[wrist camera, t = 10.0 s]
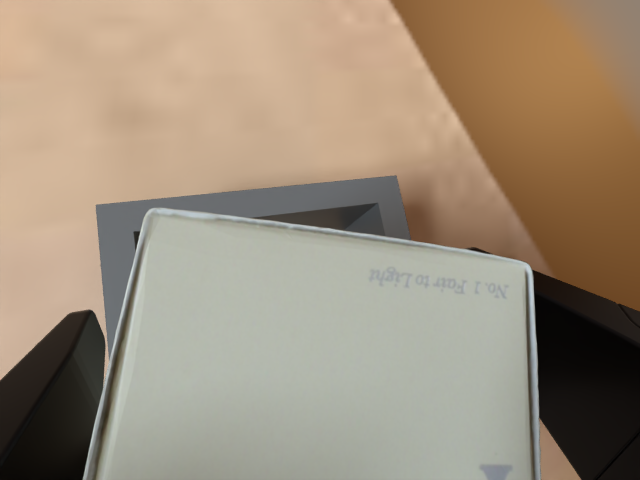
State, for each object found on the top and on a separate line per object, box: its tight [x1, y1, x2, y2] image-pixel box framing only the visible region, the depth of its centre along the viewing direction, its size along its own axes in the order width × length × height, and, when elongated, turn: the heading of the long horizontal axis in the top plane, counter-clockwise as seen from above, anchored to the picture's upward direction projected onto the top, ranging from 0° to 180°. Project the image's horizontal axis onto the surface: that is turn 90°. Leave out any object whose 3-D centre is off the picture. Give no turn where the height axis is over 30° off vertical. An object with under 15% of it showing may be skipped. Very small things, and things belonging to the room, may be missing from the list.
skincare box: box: [83, 208, 541, 480], centre depth 11 cm, size 6×4×12 cm
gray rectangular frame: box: [96, 176, 411, 361], centre depth 15 cm, size 10×10×4 cm
